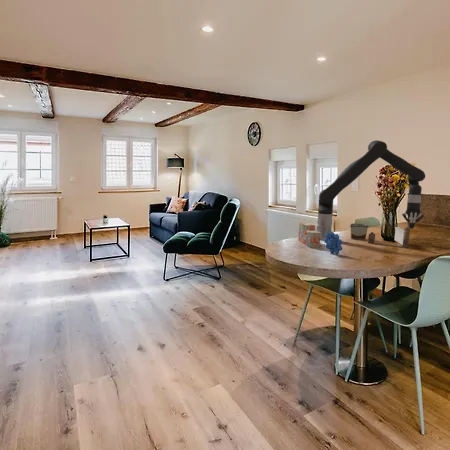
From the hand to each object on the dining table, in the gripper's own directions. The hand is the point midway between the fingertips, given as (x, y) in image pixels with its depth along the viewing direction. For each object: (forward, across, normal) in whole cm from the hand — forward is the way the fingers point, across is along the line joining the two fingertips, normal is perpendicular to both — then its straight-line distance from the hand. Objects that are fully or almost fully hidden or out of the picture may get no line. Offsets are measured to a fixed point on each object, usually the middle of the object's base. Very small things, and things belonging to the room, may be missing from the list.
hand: (411, 228), depth 222 cm
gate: (+9, -7, -6) cm, 13 cm away
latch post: (+10, -25, -10) cm, 28 cm away
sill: (+10, -15, -13) cm, 22 cm away
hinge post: (+10, -6, -18) cm, 21 cm away
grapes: (+10, -50, -51) cm, 72 cm away
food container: (+10, -32, +4) cm, 34 cm away
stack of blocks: (+10, -63, -29) cm, 70 cm away
